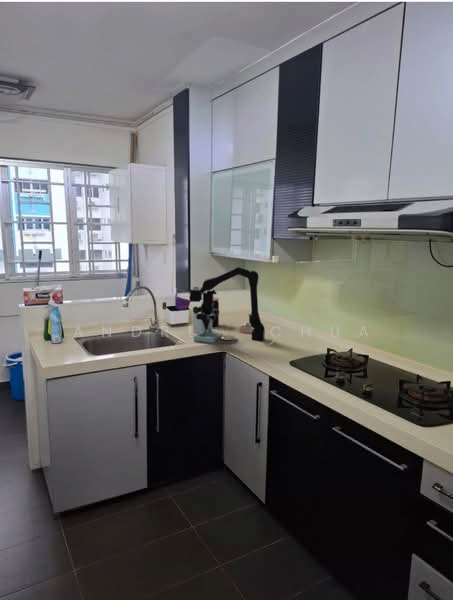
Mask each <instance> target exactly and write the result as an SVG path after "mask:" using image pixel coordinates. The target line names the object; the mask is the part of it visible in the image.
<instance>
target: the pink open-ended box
mask: <svg viewBox="0 0 453 600" xmlns="http://www.w3.org/2000/svg"><path fill="white" fill-rule="evenodd" d="M238 328H239V329H238V333H241V334H249V335H250V334H251V335H252V332H253V329H254V328H253V327H252V326H251V324H250V328H247V327H244V323H243V324H242V325H239V327H238Z"/></svg>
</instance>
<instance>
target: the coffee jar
mask: <svg viewBox="0 0 453 600" xmlns="http://www.w3.org/2000/svg"><path fill="white" fill-rule="evenodd" d="M219 299H220V298H218V297H215V296H213V303H215V305H214V306H213V309H218V310H219V309H220V304H219V303H220V302H219ZM201 301H202V303H201V304H203V297H202V300H201ZM219 311H220V310H219ZM215 315H217V314H215ZM219 317H220V313H219V314H218V315H217V317H216V318H215V320H214V322H213V325H212V328H215V327H218V326H219V319H220V318H219Z"/></svg>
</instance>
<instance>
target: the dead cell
mask: <svg viewBox="0 0 453 600" xmlns="http://www.w3.org/2000/svg"><path fill="white" fill-rule="evenodd" d="M243 324H244V327H247V328H250V325H251V324H250V323H249V322H247V321H246V322H243Z"/></svg>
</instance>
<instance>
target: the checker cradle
mask: <svg viewBox="0 0 453 600" xmlns="http://www.w3.org/2000/svg"><path fill="white" fill-rule="evenodd" d="M237 341H238V338H237V337H235V339H234V340H221V339H219V340H217V342H216V343H218V344H219V343H220V344H227V345H233V344H235V343H236V342H237Z"/></svg>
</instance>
